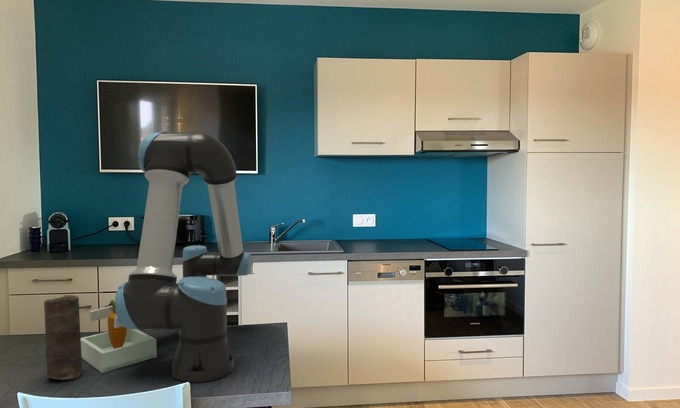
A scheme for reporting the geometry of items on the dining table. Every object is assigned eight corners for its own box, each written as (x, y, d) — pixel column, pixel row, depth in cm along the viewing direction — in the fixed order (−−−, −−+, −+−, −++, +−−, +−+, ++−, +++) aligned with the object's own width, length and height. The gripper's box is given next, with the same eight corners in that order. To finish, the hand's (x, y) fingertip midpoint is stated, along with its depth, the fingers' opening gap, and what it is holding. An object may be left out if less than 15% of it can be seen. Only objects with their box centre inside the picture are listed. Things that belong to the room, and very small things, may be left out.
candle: (46, 386, 103) (44, 302, 103) (45, 375, 109) (43, 295, 109) (84, 378, 108) (82, 297, 107) (80, 368, 114) (79, 291, 113)
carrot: (131, 349, 124) (131, 297, 123) (121, 357, 119) (120, 302, 118) (115, 348, 124) (114, 296, 123) (103, 355, 119) (102, 301, 118)
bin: (156, 356, 121) (156, 339, 121) (102, 373, 111) (102, 353, 111) (130, 342, 132) (130, 326, 132) (79, 356, 121) (79, 338, 121)
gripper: (197, 317, 132) (130, 340, 112) (146, 307, 142) (77, 326, 123) (196, 293, 131) (129, 311, 112) (146, 284, 142) (77, 300, 122)
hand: (102, 319), depth 117 cm, fingers open, 10 cm apart
